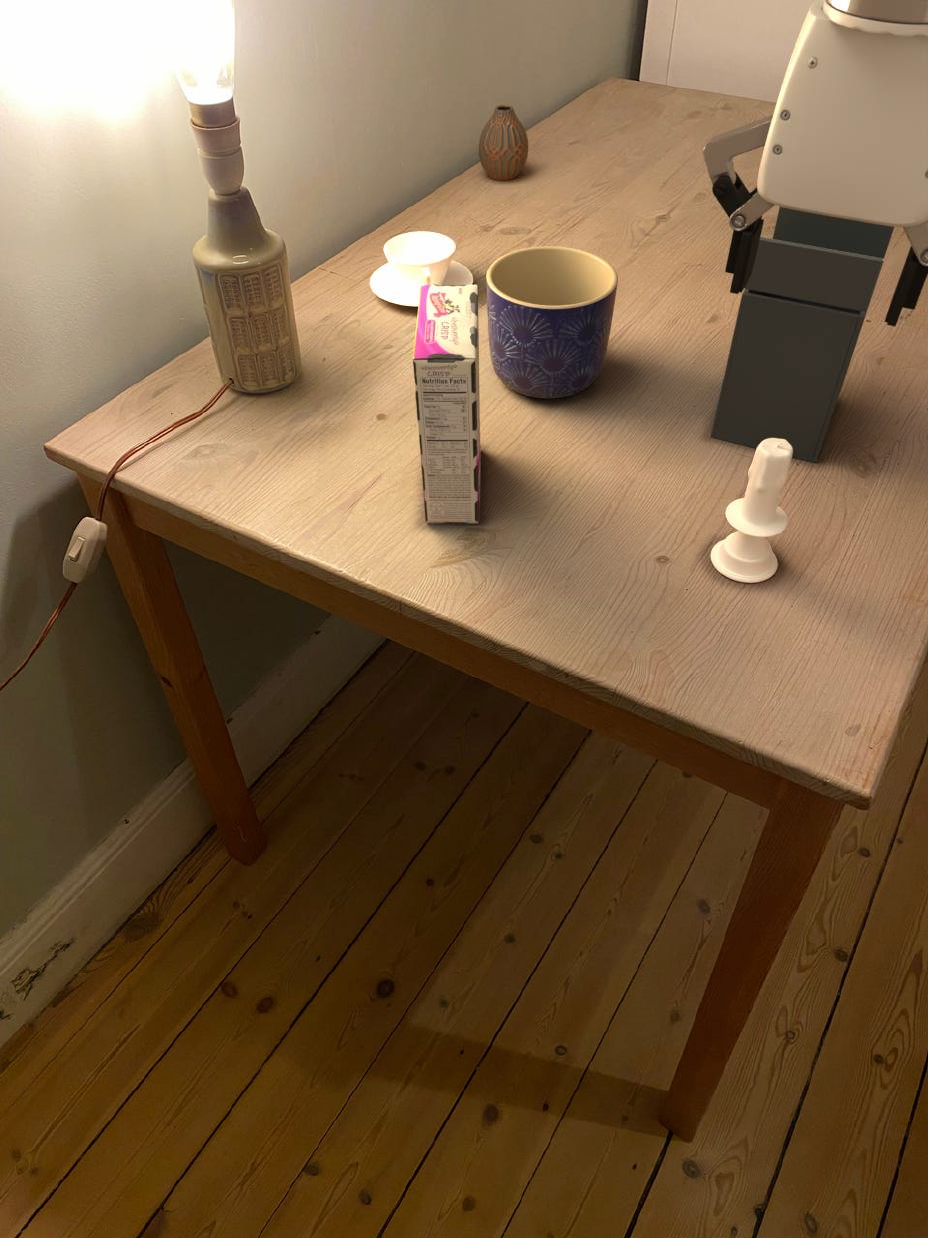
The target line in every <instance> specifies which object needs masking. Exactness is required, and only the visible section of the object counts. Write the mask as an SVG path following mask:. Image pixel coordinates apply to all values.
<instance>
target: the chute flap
mask: <svg viewBox="0 0 928 1238" xmlns="http://www.w3.org/2000/svg"><path fill="white" fill-rule="evenodd" d="M882 261H884V259H883V258H877V257H871V256H866V255H860V254H854V253H849V252H843V251H837V250H832V249H826V248H820V247H815V246H809V245H803V244H798V243H792V242H786V241H781V240H775V239H773V238H769V237H768V238H767V237H762V236H760V240H759V245H758V249H757V253H756V258H755V262H754V266H753V271H752V274H751V277H750V278H749V280H748V282H747V284H746V286H745V287H744V290H745V289H750V290H756V291H761V292H766V293H771V294H776V295H781V296H786V297H792V298H797V299H802V300H807V301H812V302H817V303H822V304H828V305H833V306H838V307H843V308H848V309H853V310H858V311H863V312H866V309H867V306H868V303H869V300H870V297H871V294H872V291H873V288H874V284H875V281H876V278H877V275H878V272H879V269H880V266H881V263H882Z"/></svg>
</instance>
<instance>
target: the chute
mask: <svg viewBox="0 0 928 1238" xmlns="http://www.w3.org/2000/svg"><path fill="white" fill-rule="evenodd" d="M778 207H779V206H778ZM775 222H776V223H775V225H774V230H773V235H772V239H774V240H780V241H785V242H791V243H797V244H802V245H808V246H814V247H819V248H825V249H831V250H836V251H842V252H848V253H853V254H859V255H865V256H870V257H876V258H882V259H883V260H882V263H881V266H880V269H879V272H878V275H877V278H876V281H875V284H874V288H873V291H872V294H871V297H870V300H869V303H868V306H867V309H866V312H863V311H858V310H853V309H848V308H843V307H838V306H833V305H828V304H822V303H817V302H812V301H807V300H802V299H797V298H792V297H786V296H781V295H776V294H771V293H766V292H761V291H756V290H750V289H745V288H744V289H743V291H742V294H741V298H740V302H739V306H738V311H737V315H736V321H735V325H734V329H733V334H732V338H731V343H730V347H729V351H728V357H727V361H726V365H725V370H724V376H723V379H722V382H721V383H722V384H721V387H720V392H719V397H718V398H719V399H718V402H717V406H716V410H715V416H714V419H713V424H712V427H711V428H712V429H711V434H710V438H713V439H717V440H720V441H724V442H725V441H726V442H730V443H733V444H737V445H740V446H741V445H742V446H745V447H749V448H753V449H757V447H758V446H759V444H760V443H761V442H762V441H763V440H765V439H769V438H778V439H785V440H786V441H787V442H788V443H789V444H790V445H791V446H792V448H793V455H792V459H793V458H794V459H797V460H802V461H806V462H811V463H814V464H817V461H818V460H819V455H820V453H821V450H822V448H823V444H824V442H825V438H826V435H827V433H828V429H829V426H830V424H831V420H832V419H833V415H834V412H835V409H836V406H837V403H838V401H839V397H840V394H841V391H842V388H843V385H844V382H845V379H846V376H847V374H848V371H849V368H850V364H851V361H852V358H853V355H854V352H855V349H856V346H857V343H858V340H859V337H860V334H861V330H862V329H863V325H864V322H865V319H866V316H867V313H868V310H869V307H870V305H871V301H872V297H873V295H874V291H875V288H876V286H877V283H878V279H879V276H880V274H881V270H882V268H883V265H884V262H885V261H884V259H885V256H886V254H887V250H888V248H889V245H890V242H891V239H892V235H893V232H894V230H895V227H892V226H885V225H878V224H872V223H866V222H860V221H855V220H849V219H843V218H837V217H831V216H826V215H820V214H815V213H809V212H804V211H798V210H793V209H788V208H783V207H779V208H778V212H777V217H776V221H775Z"/></svg>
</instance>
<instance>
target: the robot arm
mask: <svg viewBox="0 0 928 1238" xmlns="http://www.w3.org/2000/svg"><path fill="white" fill-rule="evenodd" d="M763 147H764V148H763ZM759 148H763V151H762V156H761V159H760V164H759V169H758V173H757V181H756V185H755V187H754V188H752V189H751V190H749V189H748V188H747V186H746V185H745V183H744V182H743V180H742V179H741V177H740V175H739V174H738V173H737V171H736V170H735V167H734V166H735V163H734V159H733V158H734V157H737V156H739V155H743V154H745V153H749V152H751V151H754V150H758V149H759ZM702 156H703V160H704V163H705V166H706V169H707V173H708V176H709V179H710V181H711V185H712V187H711V191H712V195H713V196H714V197H715V199H716V200H717V202H718V203H719V205H720V207H721V208H722V209H723V211H724V212H725V214H726V215H727V217H728V218H729V219H728V224H729V227H730V228H731V229H732V230H733V231H732V235H731V240H730V245H729V251H728V255H727V259H726V264H725V271H724V273H727V274H731V275H732V279H731V284H730V289H729V293H730V294H735V295H739V293H742V294H743V292H744V290H745V288H744V287H745V286H746V284H747V282H748V280H749V278H750V277H751V274H752V271H753V266H754V262H755V258H756V253H757V249H758V245H759V240H760V237H762V231H763V227H764V222H765V219H764V218H763V215H764V214H766V213H767V212H769V211H770V210H771V209H772V208H773V207H774V206H776V207H783V208H788V209H793V210H798V211H804V212H809V213H815V214H820V215H826V216H831V217H837V218H843V219H849V220H855V221H860V222H866V223H872V224H878V225H885V226H892V227H894V228H903V231H904V233H905V235H906V237H907V240H908V241H909V244H910V246H909V250H908V252H907V256H906V258H905V261H904V264H903V267H902V269H901V272H900V276H899V278H898V281H897V283H896V285H895V286H896V287H895V289H894V291H893V295H892V298H891V300H890V303H889V306H888V310H887V313H886V316H885V319H884V323H886V325H887V326H891V327H897V324H898V321H899V319H900V315H901V313H902V311H903V309H906V310H907V309H908V310H913V311H914V310H915V309H916V306H917V304H918V301H919V298H920V296H921V293H922V291H923V288H924V286H925V283H926V280H927V278H928V0H813V1H812V2H811V4H810V7H809V10H808V11H807V14H806V16H805V18H804V21H803V23H802V26H801V29H800V31H799V34H798V37H797V39H796V42H795V44H794V47H793V50H792V53H791V56H790V60H789V62H788V65H787V67H786V71H785V74H784V77H783V81H782V82H781V87H780V90H779V94H778V97H777V101H776V104H775V106H774V111H773V114H771V115H768V116H766V117H763V118H761V119H758V120H754V121H751V122H749V123H747V124H743V125H741V126H739V127H736V128H733V129H730V130H728V131H724V132H723V133H720V134H717V135H715V136H714V135H713V136H712V137H711V138H709V140H708V141H707V143H706V144H705V145H704V147H703V149H702ZM762 218H763V219H762Z"/></svg>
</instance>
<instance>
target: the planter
mask: <svg viewBox="0 0 928 1238" xmlns="http://www.w3.org/2000/svg"><path fill="white" fill-rule="evenodd" d="M485 278H486V279H485V280H486V304H487V305H486V306H487V307H486V308H487V309H486V310H487V333H488V347H489V354H490V355H489V356H490V361H491V365H492V368H493V371H494V373H495V375H496V377H497V378H498V379H499V380H500V382H502V384H503V385H505V386H506V387H508V388H509V389H511V390H512V391H514V392H516V393H518V394H521V395H524V396H526V397H530V398H536V399H537V398H538V399H559V398H565V397H570V396H572V395H576V394H578V393H580V392H581V391H583V390H585V389H587V388H589V387H590V385H592V384H593V383H594V382H595V381H596V379H597V378H598V376H599V375H600V373H601V371H602V368H603V366H604V362H605V359H606V356H607V351H608V347H609V342H610V341H609V340H610V336H611V329H612V322H613V317H614V310H615V304H616V297H617V289H618V285H619V284H618V283H619V275H618V273H617V270H616V268H615V267H614V266H613V265H612V264H611V263H610V262H608V261H607V260H606V259H604V258H603V257H601V256H599V255H597V254H595V253H593V252H590V251H587V250H583V249H580V248H575V247H570V246H559V245H541V246H530V247H525V248H520V249H516V250H513V251H511V252H508V253H506V254H504V255H502V256H499V258H497V259H496V260H495V261H493V262H492V263H491V265H490V266H489V267H488V269H487V271H486V277H485Z"/></svg>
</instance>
